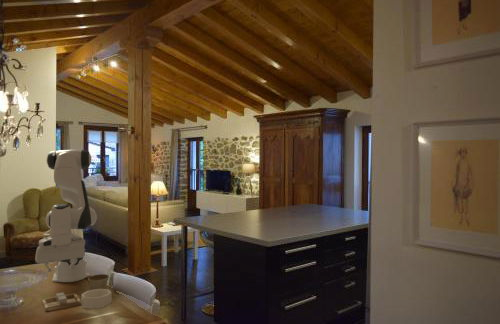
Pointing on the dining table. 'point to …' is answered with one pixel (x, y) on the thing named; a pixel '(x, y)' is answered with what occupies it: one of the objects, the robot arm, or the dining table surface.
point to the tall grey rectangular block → (59, 296)
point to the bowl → (96, 298)
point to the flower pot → (98, 281)
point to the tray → (52, 304)
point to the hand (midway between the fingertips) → (60, 269)
